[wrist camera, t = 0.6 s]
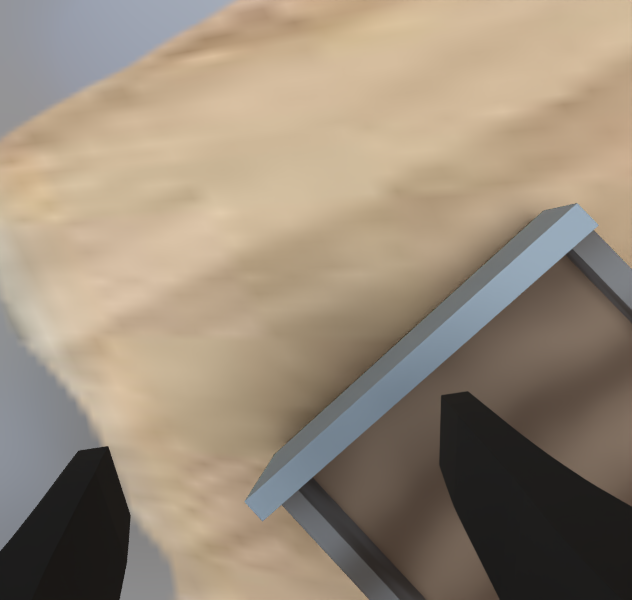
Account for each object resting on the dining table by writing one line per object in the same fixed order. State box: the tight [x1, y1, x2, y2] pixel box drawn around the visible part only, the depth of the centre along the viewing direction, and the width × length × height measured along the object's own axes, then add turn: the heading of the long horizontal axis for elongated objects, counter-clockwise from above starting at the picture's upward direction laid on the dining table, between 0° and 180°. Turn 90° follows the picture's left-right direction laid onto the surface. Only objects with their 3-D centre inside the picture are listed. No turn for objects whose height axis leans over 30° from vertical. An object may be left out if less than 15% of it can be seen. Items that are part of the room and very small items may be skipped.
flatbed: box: [282, 230, 632, 600], centre depth 30 cm, size 13×20×4 cm, turn 134°
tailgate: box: [245, 203, 598, 521], centre depth 28 cm, size 1×19×6 cm, turn 134°
